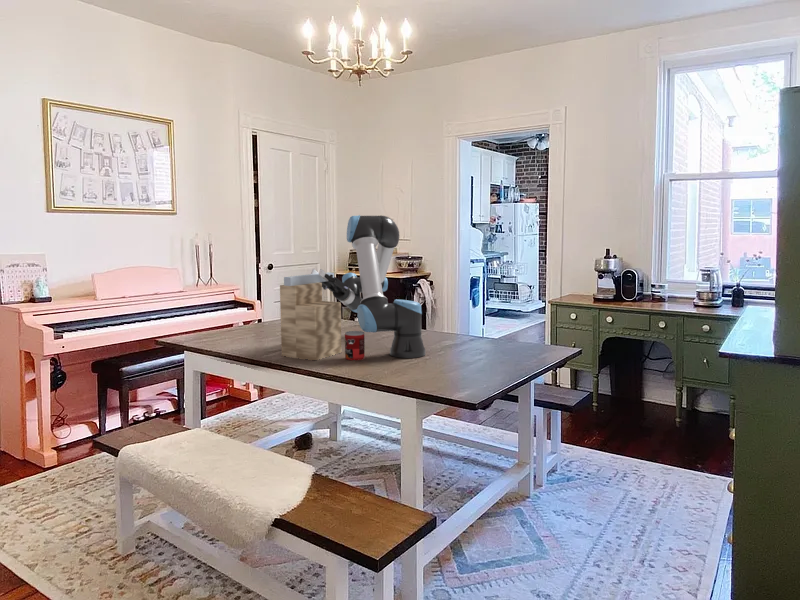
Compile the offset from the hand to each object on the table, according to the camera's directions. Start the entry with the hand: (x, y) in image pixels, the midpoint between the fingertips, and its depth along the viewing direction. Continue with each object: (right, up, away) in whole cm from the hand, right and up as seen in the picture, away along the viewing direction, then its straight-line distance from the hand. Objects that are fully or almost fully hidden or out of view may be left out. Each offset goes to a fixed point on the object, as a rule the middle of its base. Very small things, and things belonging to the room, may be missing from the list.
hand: (316, 271), depth 262 cm
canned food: (+18, -37, -15) cm, 44 cm away
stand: (-2, -36, -7) cm, 36 cm away
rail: (-2, -5, -3) cm, 6 cm away
